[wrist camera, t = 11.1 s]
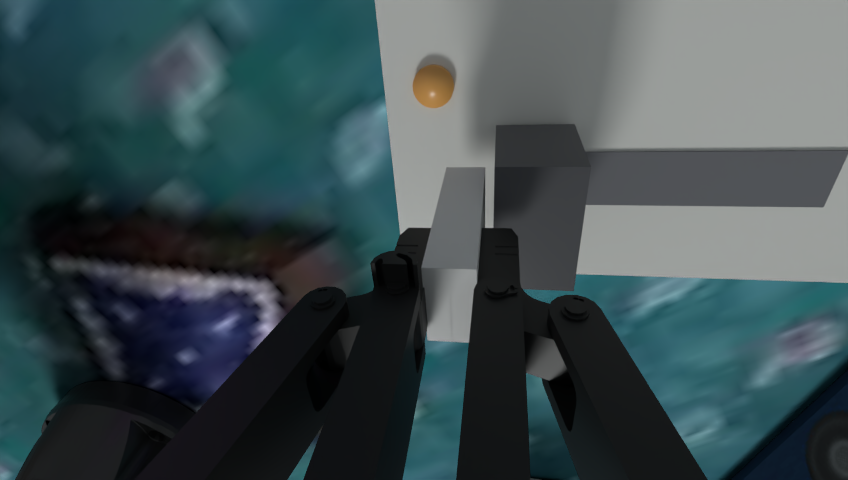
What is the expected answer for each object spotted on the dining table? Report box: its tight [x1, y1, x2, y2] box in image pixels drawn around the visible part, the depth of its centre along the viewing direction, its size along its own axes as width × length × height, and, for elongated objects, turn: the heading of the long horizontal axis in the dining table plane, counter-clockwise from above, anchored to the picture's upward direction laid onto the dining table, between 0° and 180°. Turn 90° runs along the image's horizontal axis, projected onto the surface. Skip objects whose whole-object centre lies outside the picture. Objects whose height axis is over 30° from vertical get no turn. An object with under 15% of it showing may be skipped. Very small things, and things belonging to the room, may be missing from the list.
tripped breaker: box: [493, 124, 591, 291], centre depth 18 cm, size 3×5×4 cm, turn 4°
